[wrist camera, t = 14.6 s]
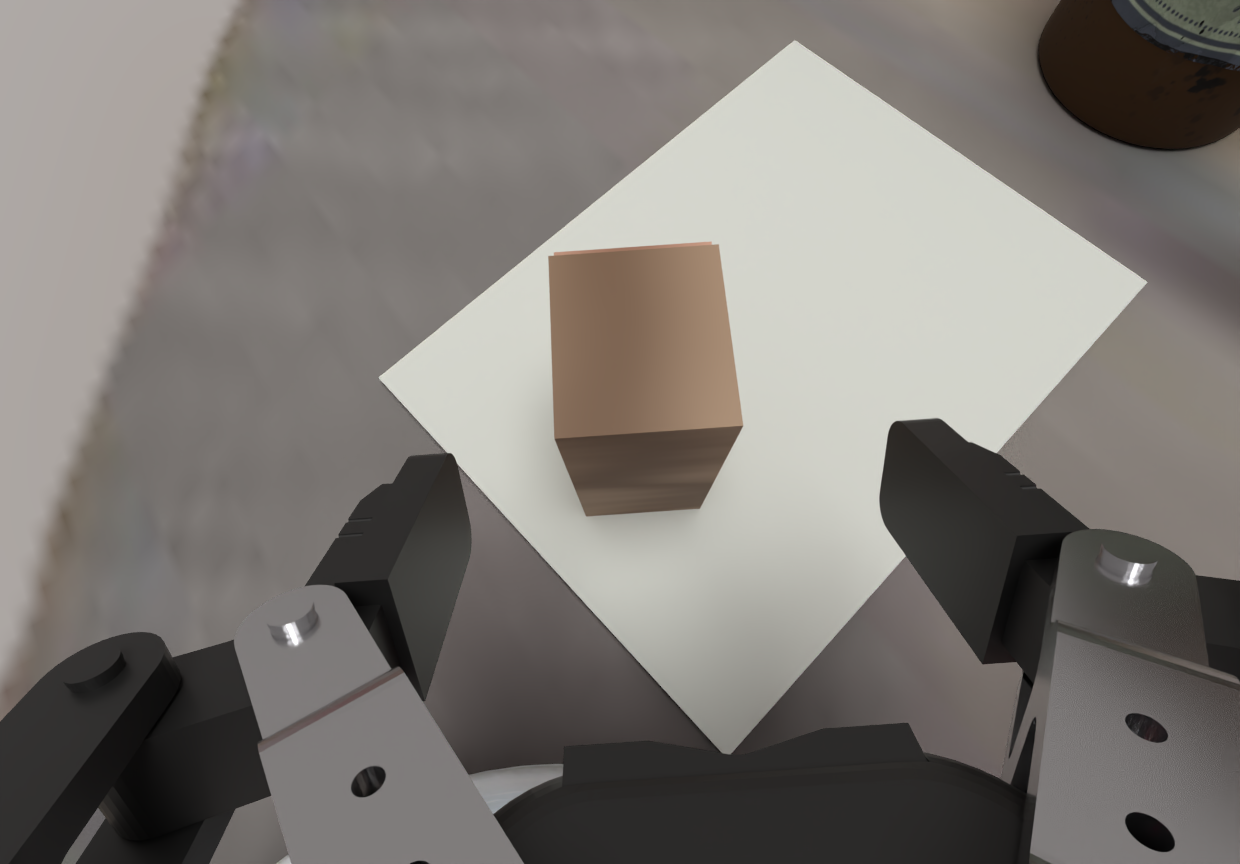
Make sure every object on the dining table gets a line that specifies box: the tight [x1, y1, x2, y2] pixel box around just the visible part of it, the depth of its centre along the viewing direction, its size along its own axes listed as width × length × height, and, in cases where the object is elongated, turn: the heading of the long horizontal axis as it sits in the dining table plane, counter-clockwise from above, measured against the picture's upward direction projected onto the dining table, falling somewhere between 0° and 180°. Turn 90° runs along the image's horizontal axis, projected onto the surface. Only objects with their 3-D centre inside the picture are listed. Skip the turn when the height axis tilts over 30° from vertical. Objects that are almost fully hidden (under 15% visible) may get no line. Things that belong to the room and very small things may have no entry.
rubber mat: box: [379, 40, 1147, 754], centre depth 24 cm, size 18×24×1 cm
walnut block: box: [548, 241, 743, 516], centre depth 18 cm, size 4×5×9 cm
